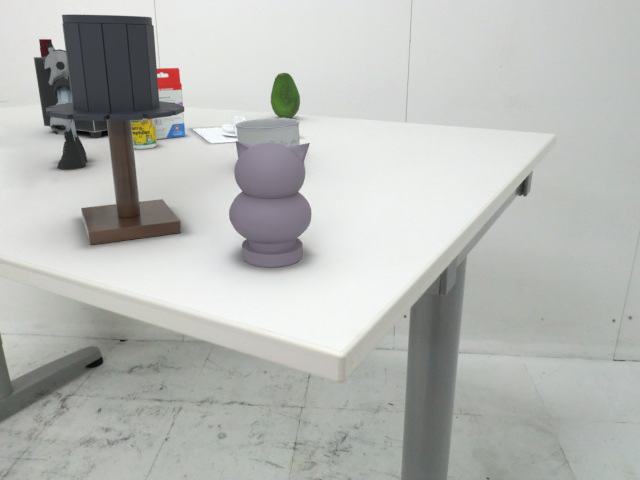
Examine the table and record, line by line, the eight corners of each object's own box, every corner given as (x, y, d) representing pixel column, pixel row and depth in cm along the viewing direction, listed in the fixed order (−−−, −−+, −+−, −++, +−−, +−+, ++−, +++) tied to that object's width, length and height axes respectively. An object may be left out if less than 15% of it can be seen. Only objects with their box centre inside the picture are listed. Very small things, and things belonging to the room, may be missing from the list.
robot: (84, 176, 91) (67, 44, 84) (51, 178, 90) (31, 44, 83) (91, 152, 109) (77, 42, 102) (64, 153, 107) (48, 41, 100)
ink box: (176, 133, 130) (172, 66, 125) (185, 136, 126) (181, 67, 121) (140, 136, 125) (133, 67, 120) (148, 140, 122) (142, 68, 116)
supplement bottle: (158, 144, 118) (154, 96, 114) (155, 149, 113) (150, 99, 109) (131, 144, 117) (126, 96, 114) (127, 149, 112) (121, 99, 109)
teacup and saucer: (217, 132, 131) (216, 114, 130) (250, 130, 134) (249, 113, 133) (226, 139, 124) (225, 120, 122) (261, 137, 127) (261, 118, 125)
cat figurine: (220, 266, 57) (213, 148, 53) (243, 240, 64) (240, 134, 60) (303, 273, 56) (303, 152, 52) (317, 245, 63) (319, 137, 59)
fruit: (270, 116, 157) (269, 71, 153) (298, 116, 158) (298, 71, 154) (271, 120, 150) (270, 73, 146) (301, 120, 151) (301, 73, 147)
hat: (44, 106, 67) (31, 15, 64) (168, 102, 73) (162, 19, 70) (49, 123, 55) (33, 12, 51) (197, 117, 61) (191, 17, 57)
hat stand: (82, 219, 71) (55, 23, 63) (163, 209, 75) (147, 25, 67) (90, 245, 62) (59, 23, 54) (181, 232, 66) (165, 24, 59)
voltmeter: (150, 128, 136) (142, 39, 129) (95, 138, 122) (83, 40, 115) (101, 122, 143) (91, 38, 136) (45, 132, 129) (30, 39, 122)
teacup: (277, 177, 92) (277, 127, 89) (224, 169, 97) (222, 122, 94) (319, 161, 104) (320, 117, 101) (269, 155, 109) (269, 112, 106)
